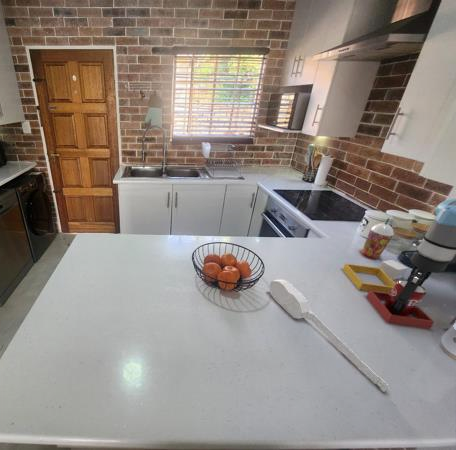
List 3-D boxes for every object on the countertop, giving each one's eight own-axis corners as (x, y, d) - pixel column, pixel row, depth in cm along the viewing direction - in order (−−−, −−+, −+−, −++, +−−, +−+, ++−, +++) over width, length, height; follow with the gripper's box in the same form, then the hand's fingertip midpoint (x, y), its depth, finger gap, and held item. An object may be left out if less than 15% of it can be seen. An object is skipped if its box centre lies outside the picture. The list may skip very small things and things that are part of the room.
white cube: (391, 281, 102) (398, 269, 99) (376, 272, 107) (382, 261, 104) (401, 279, 104) (408, 267, 101) (385, 270, 109) (392, 259, 106)
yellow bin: (375, 275, 105) (379, 267, 104) (396, 296, 94) (401, 288, 92) (341, 271, 107) (345, 263, 106) (358, 291, 96) (362, 283, 94)
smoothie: (355, 250, 124) (372, 213, 114) (373, 252, 123) (392, 215, 114) (365, 259, 116) (384, 221, 107) (384, 261, 115) (405, 223, 106)
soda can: (376, 307, 88) (392, 281, 82) (388, 302, 90) (404, 276, 85) (401, 323, 82) (420, 295, 76) (413, 317, 84) (432, 290, 79)
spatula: (366, 403, 62) (377, 398, 63) (383, 386, 58) (395, 381, 59) (265, 292, 92) (274, 290, 93) (272, 276, 88) (281, 274, 89)
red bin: (401, 303, 91) (407, 295, 89) (428, 331, 80) (434, 322, 78) (365, 298, 92) (369, 290, 91) (385, 324, 82) (391, 315, 80)
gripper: (424, 241, 83) (392, 293, 93) (406, 258, 73) (372, 315, 83) (456, 251, 78) (418, 305, 88) (442, 272, 67) (401, 331, 77)
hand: (396, 310), depth 85 cm, fingers closed on soda can, 7 cm apart
